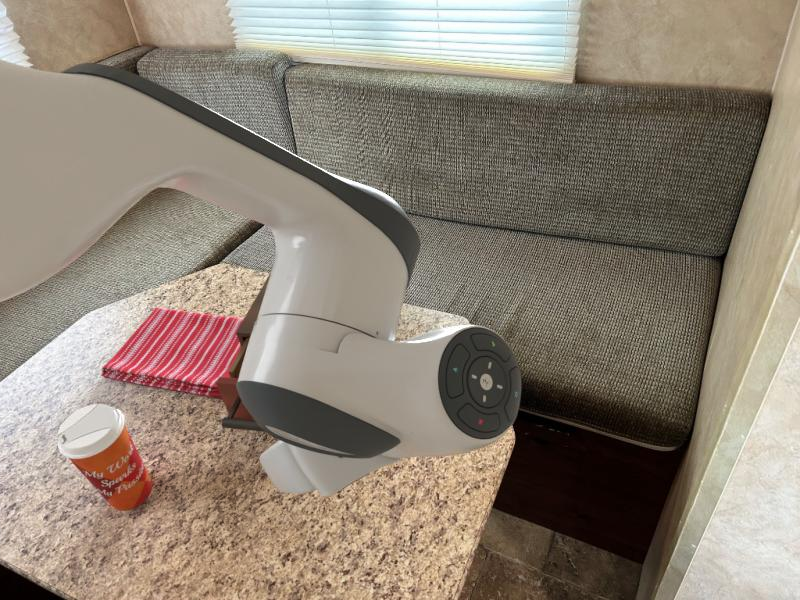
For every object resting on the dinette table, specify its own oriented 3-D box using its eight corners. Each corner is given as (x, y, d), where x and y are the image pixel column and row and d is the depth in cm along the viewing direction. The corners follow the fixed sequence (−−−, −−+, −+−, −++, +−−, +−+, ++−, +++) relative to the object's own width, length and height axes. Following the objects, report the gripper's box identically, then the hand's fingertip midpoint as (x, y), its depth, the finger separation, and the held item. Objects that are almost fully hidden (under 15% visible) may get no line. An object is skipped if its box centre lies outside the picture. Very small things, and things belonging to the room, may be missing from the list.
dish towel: (228, 402, 92) (223, 390, 90) (100, 380, 98) (93, 369, 97) (276, 327, 104) (272, 315, 103) (160, 312, 111) (154, 301, 109)
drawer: (294, 455, 82) (281, 418, 77) (217, 447, 84) (199, 410, 79) (331, 359, 96) (322, 322, 91) (263, 354, 98) (251, 318, 93)
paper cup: (112, 529, 77) (63, 463, 68) (93, 490, 82) (45, 424, 73) (170, 492, 80) (130, 424, 71) (148, 457, 85) (108, 390, 76)
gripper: (455, 314, 56) (397, 341, 68) (267, 441, 47) (238, 447, 59) (491, 372, 56) (426, 389, 68) (311, 511, 47) (273, 502, 59)
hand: (338, 417), depth 64 cm, fingers closed on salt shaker, 3 cm apart
